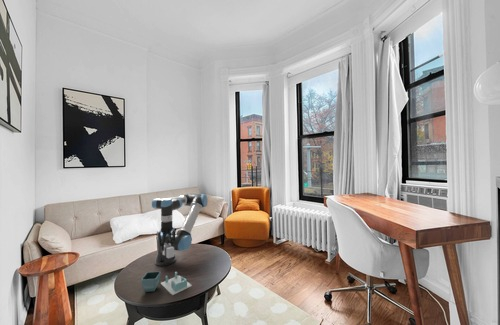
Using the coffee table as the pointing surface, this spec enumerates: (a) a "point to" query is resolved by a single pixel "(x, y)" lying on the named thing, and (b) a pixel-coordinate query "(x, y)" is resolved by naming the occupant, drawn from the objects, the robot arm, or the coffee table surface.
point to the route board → (175, 284)
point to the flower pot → (150, 281)
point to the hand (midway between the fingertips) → (166, 253)
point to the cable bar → (168, 251)
